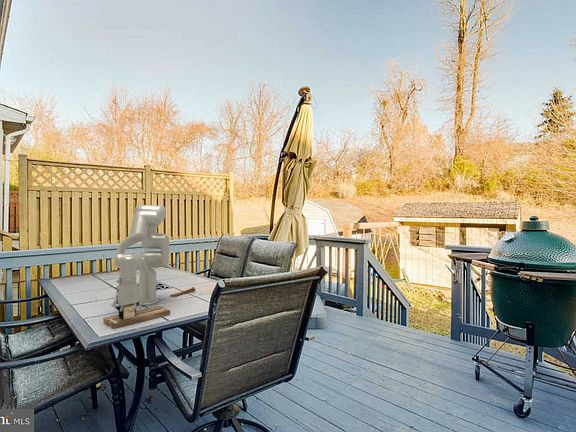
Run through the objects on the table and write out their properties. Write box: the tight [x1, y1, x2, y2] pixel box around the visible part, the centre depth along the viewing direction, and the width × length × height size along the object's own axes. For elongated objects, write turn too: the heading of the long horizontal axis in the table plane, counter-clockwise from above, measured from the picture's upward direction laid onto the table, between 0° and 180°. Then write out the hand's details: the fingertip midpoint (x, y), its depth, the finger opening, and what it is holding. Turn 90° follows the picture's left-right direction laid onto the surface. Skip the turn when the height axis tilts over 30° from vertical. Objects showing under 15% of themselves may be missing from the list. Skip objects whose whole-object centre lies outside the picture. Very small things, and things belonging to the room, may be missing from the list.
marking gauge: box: [123, 304, 135, 320], centre depth 157 cm, size 8×5×6 cm, turn 51°
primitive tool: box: [169, 286, 196, 298], centre depth 215 cm, size 19×6×4 cm, turn 149°
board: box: [102, 305, 171, 330], centre depth 163 cm, size 12×29×3 cm, turn 141°
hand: (127, 316), depth 157 cm, fingers closed on marking gauge, 5 cm apart
